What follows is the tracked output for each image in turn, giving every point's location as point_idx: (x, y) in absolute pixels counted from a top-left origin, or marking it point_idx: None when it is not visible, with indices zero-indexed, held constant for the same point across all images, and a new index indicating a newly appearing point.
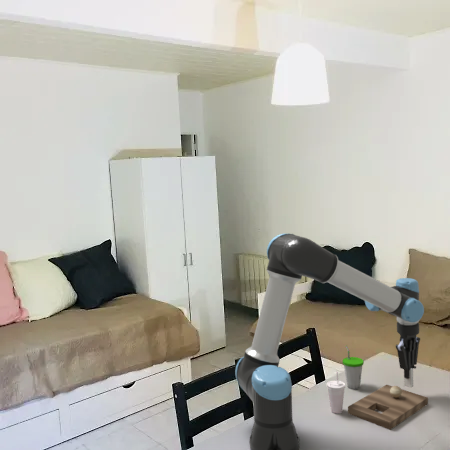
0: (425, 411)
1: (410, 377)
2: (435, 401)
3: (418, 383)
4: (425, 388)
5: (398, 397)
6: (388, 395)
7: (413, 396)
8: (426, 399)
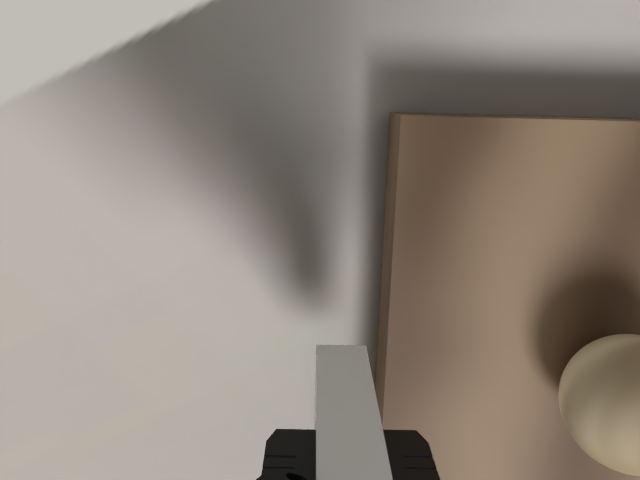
0: (553, 58)
1: (379, 421)
2: (274, 85)
3: (13, 398)
4: (66, 299)
5: None
6: None
7: (474, 248)
8: (433, 115)
